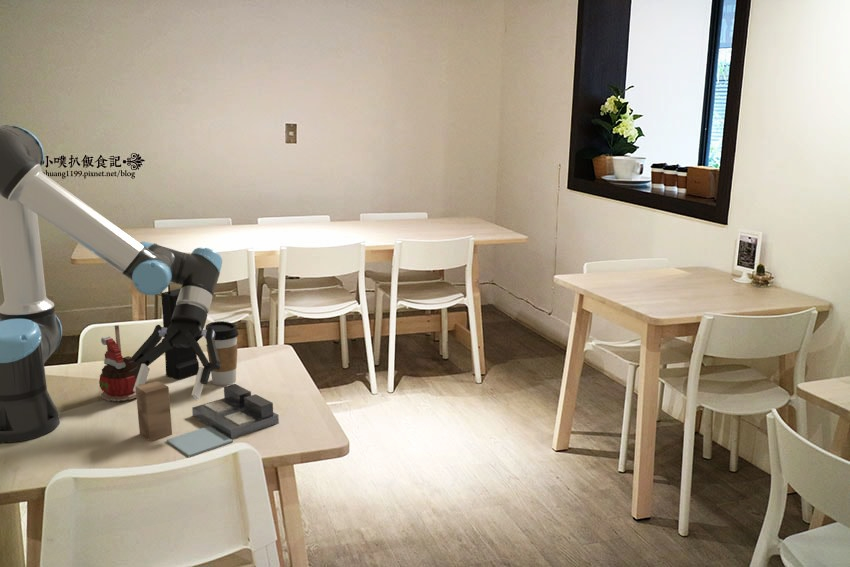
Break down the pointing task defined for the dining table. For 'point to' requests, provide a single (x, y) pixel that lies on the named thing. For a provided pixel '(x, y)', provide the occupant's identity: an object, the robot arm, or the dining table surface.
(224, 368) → the coffee cup
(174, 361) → the portable radio
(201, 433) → the mat
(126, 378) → the cake
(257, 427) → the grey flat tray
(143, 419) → the walnut block
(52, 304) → the robot arm
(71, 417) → the dining table surface
